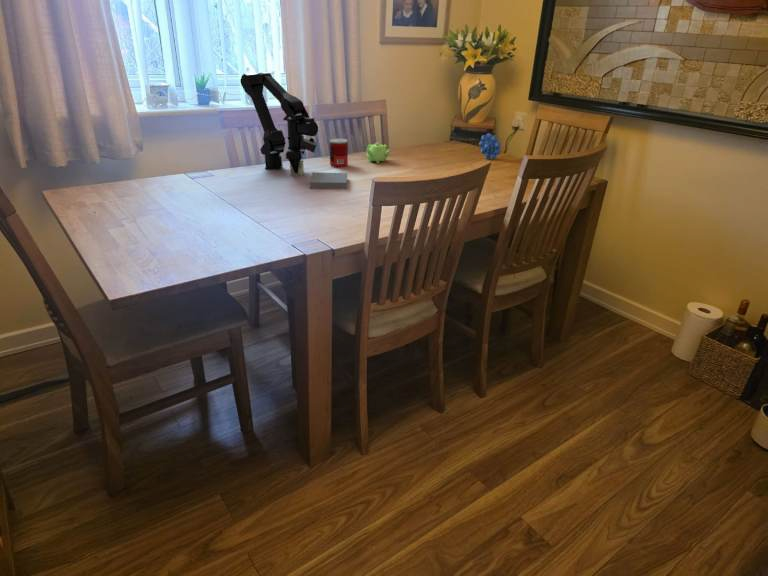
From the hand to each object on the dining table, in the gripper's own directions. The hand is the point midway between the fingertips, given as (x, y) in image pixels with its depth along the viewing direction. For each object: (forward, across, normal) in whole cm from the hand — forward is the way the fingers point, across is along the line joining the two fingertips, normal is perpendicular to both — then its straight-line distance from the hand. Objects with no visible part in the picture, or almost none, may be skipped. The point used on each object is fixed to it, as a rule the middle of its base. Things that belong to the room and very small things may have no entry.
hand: (297, 171), depth 212 cm
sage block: (+1, 0, 0) cm, 1 cm away
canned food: (+1, +15, -17) cm, 23 cm away
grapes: (+1, +31, -88) cm, 93 cm away
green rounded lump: (+1, +23, -35) cm, 42 cm away
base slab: (+1, -14, -14) cm, 20 cm away
